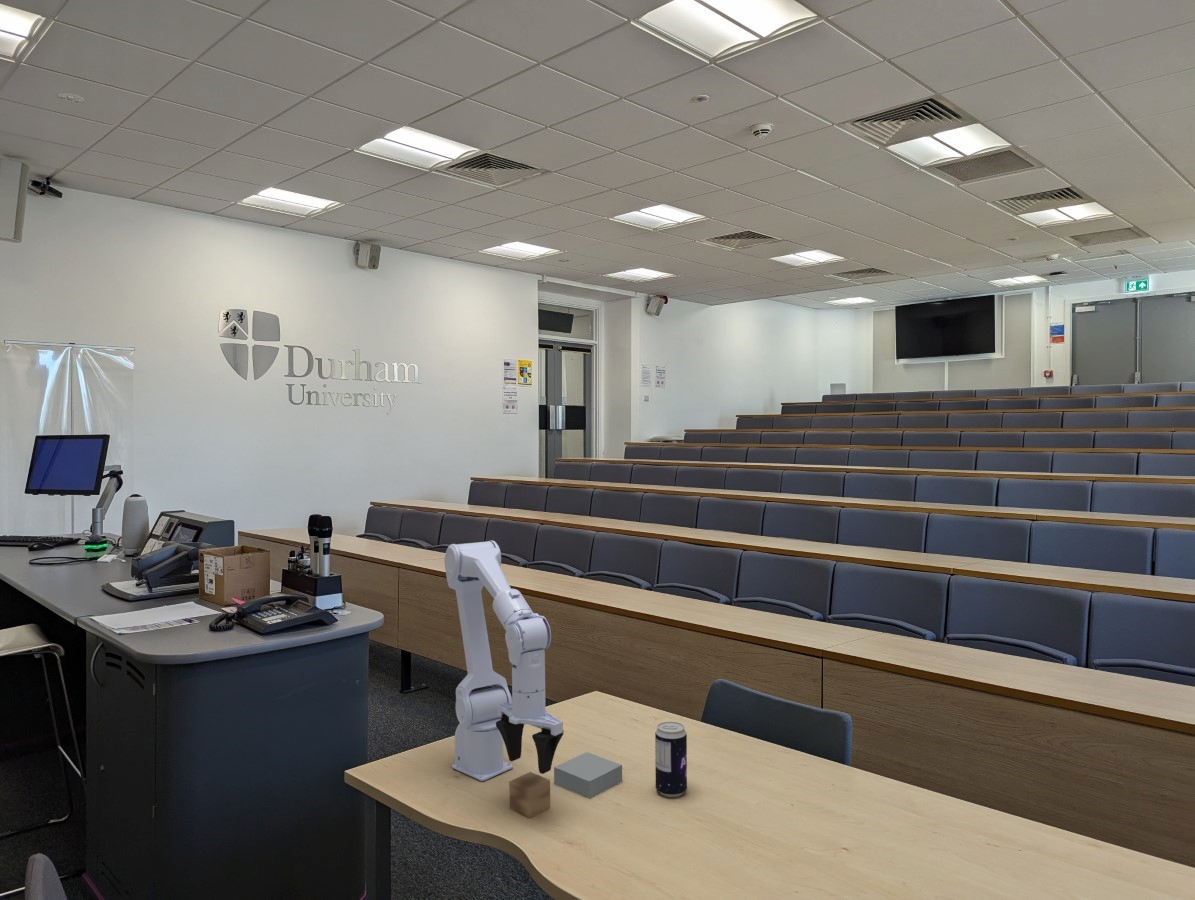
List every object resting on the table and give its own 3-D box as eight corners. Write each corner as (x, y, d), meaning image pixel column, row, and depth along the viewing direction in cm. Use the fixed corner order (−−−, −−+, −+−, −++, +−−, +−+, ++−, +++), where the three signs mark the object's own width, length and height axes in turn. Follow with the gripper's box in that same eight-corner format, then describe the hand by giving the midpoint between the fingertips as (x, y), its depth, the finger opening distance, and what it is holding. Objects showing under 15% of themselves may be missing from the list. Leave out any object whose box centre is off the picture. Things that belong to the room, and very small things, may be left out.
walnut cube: (509, 809, 136) (509, 781, 136) (530, 799, 140) (530, 771, 140) (529, 819, 133) (529, 790, 133) (550, 808, 137) (550, 780, 136)
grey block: (554, 785, 146) (553, 767, 146) (587, 769, 153) (586, 751, 152) (589, 800, 140) (589, 781, 140) (622, 783, 147) (622, 765, 146)
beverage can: (685, 800, 139) (685, 733, 138) (653, 797, 140) (653, 731, 140) (688, 786, 144) (687, 721, 144) (657, 783, 145) (657, 719, 145)
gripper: (483, 684, 138) (484, 761, 138) (541, 703, 128) (542, 785, 128) (513, 675, 143) (514, 748, 143) (571, 692, 133) (572, 771, 134)
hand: (529, 765), depth 136 cm, fingers open, 7 cm apart
